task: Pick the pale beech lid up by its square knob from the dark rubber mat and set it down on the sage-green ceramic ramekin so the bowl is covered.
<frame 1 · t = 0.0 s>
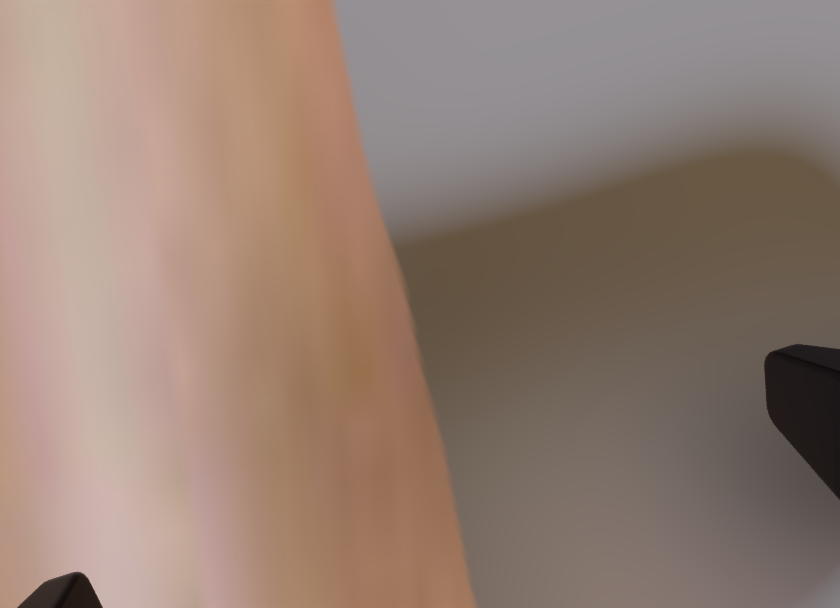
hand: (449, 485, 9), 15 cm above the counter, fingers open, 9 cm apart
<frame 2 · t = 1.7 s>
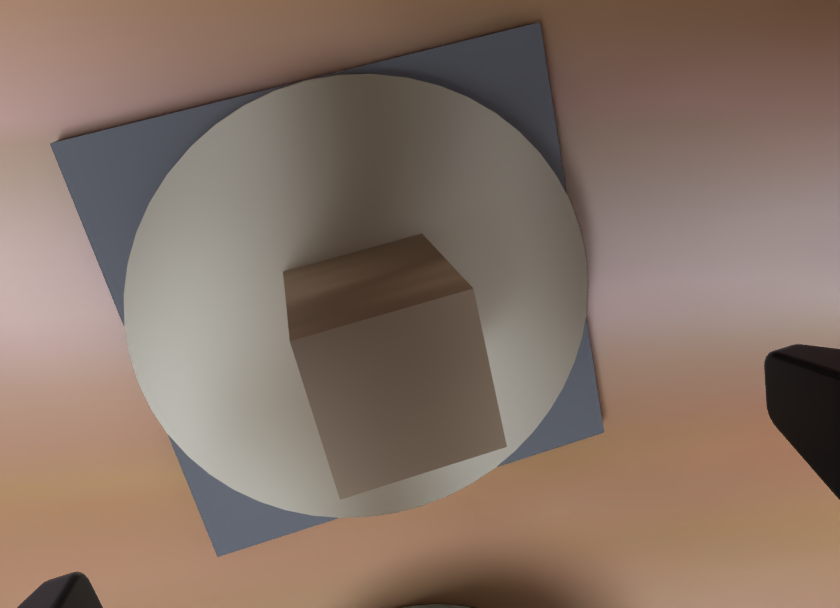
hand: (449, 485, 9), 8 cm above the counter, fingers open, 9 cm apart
mat: (364, 303, 16), on the counter
lid: (367, 308, 16), resting on mat
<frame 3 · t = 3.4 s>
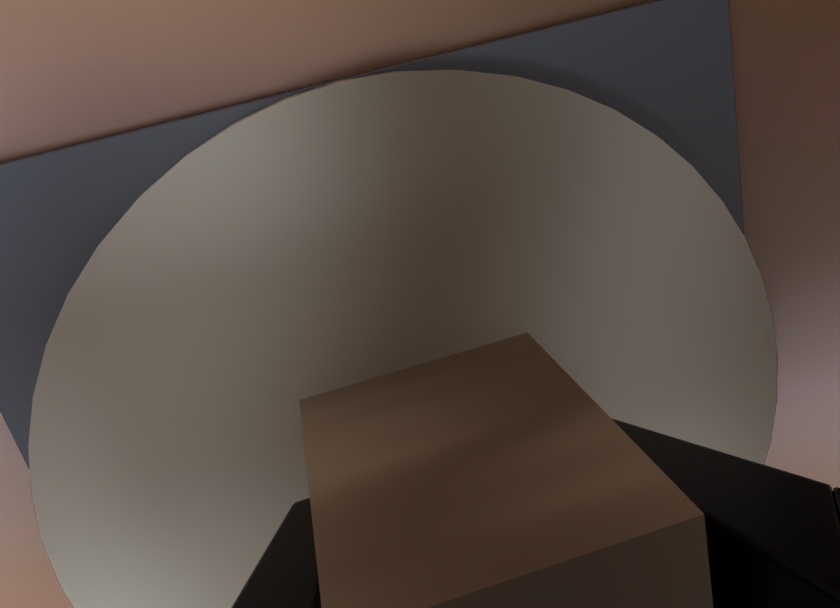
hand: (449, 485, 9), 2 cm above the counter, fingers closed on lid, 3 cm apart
mat: (424, 429, 11), on the counter
lid: (430, 442, 10), resting on mat, touching gripper
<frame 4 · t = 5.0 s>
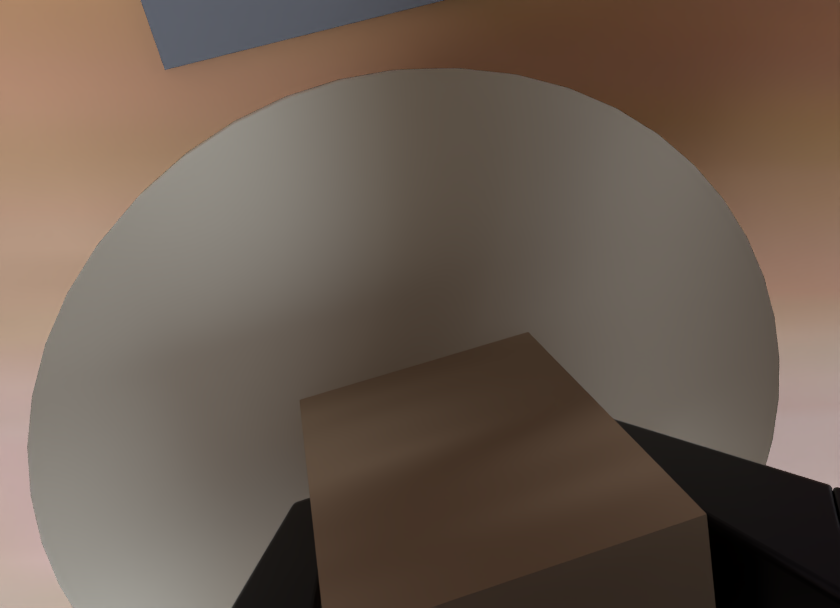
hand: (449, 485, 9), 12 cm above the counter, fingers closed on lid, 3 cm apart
lid: (431, 442, 10), point 11 cm above the counter, touching gripper
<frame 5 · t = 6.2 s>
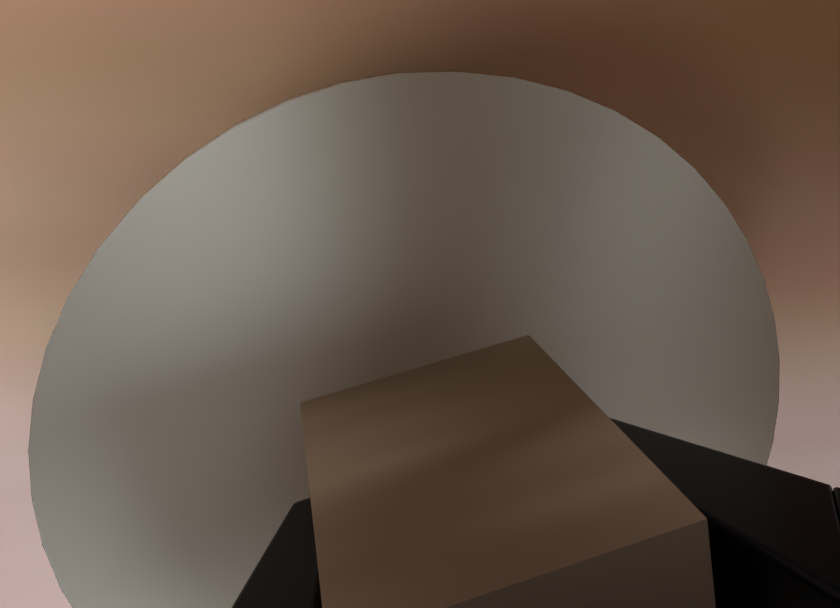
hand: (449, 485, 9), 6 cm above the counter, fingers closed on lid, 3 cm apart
lid: (431, 445, 10), point 5 cm above the counter, touching gripper
when the fingers open (6 cm above the counter, at t = 6.8 s): lid drops 1 cm, resting on bowl.
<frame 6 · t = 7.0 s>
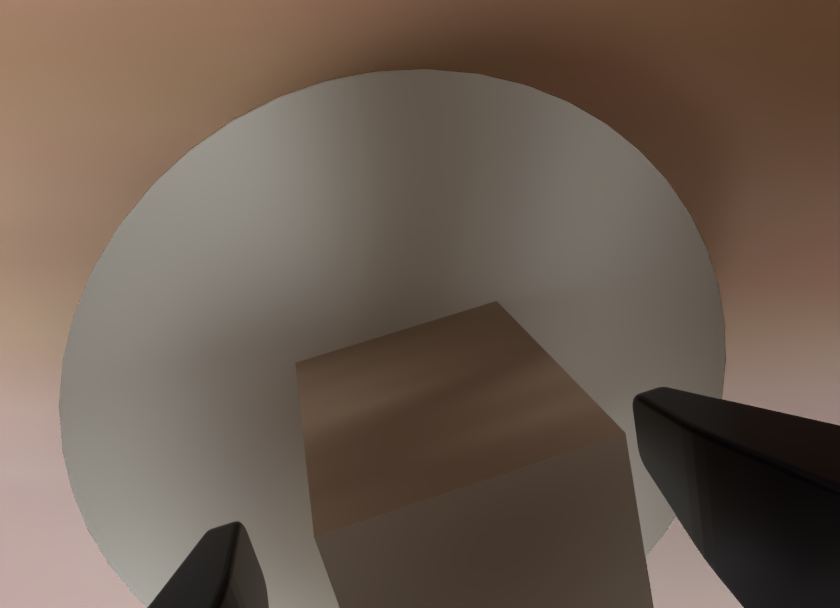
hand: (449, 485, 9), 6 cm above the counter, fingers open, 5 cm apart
lid: (414, 403, 11), point 4 cm above the counter, touching bowl
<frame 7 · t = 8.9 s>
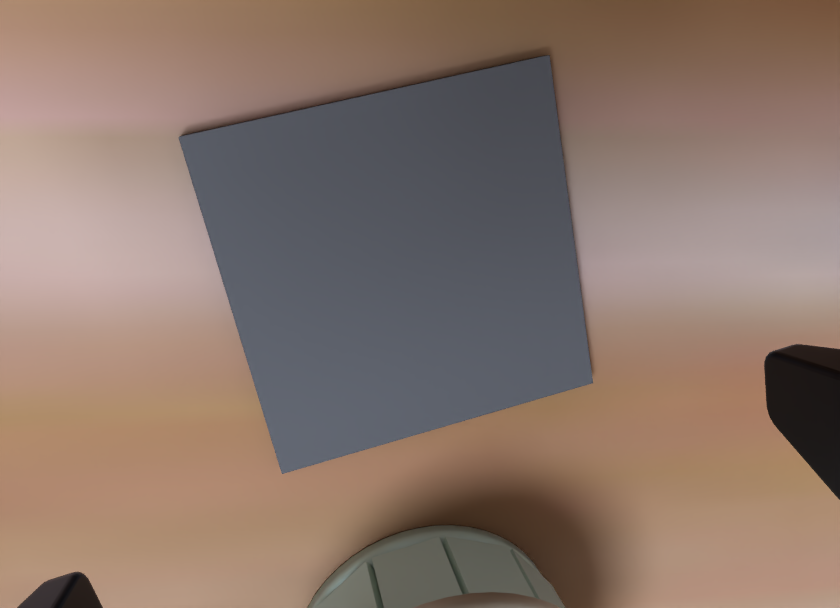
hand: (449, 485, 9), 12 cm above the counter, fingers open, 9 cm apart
mat: (406, 270, 21), on the counter
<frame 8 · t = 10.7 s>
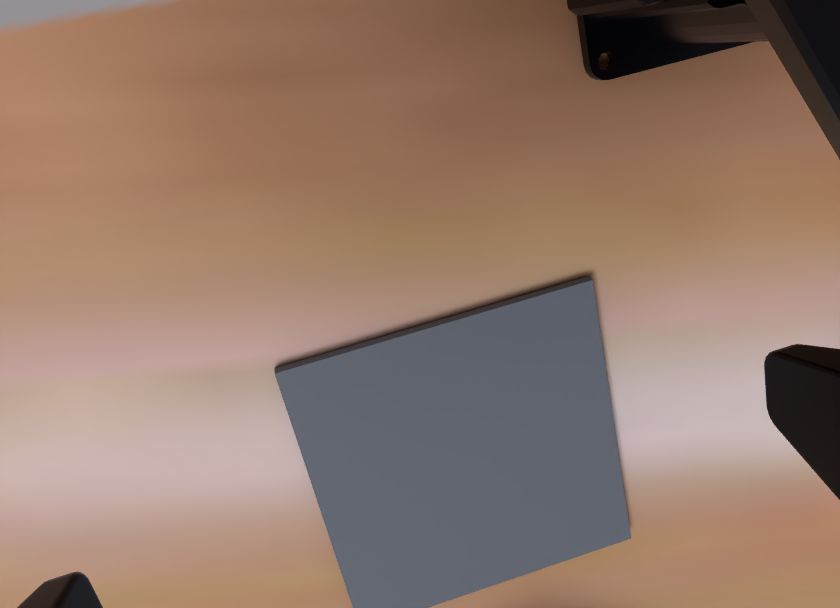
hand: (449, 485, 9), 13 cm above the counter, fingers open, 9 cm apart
mat: (467, 457, 24), on the counter
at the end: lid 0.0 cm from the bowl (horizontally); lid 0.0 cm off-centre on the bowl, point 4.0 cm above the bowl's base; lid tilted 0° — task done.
